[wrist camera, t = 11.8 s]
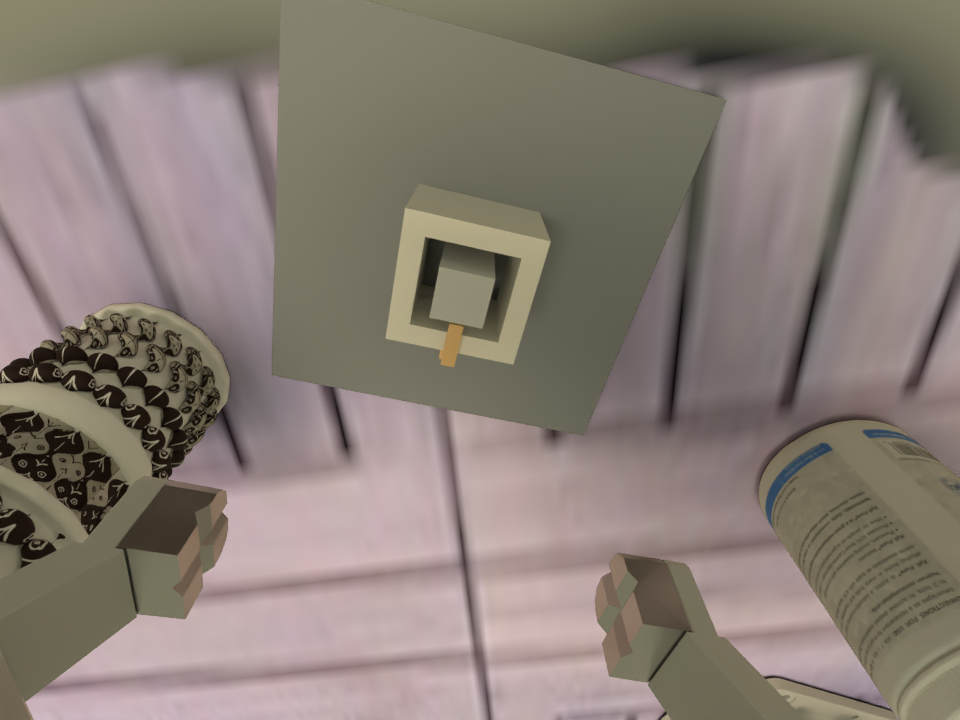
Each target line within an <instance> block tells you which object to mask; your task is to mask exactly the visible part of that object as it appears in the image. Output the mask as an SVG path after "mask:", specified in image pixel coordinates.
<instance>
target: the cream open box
mask: <svg viewBox="0 0 960 720" xmlns="http://www.w3.org/2000/svg"><path fill="white" fill-rule="evenodd" d="M430 238H433V239H437V240H442V241H446V242H451V243H455V244H459V245H464V246H468V247H473V248H477V249H482V250H486V251H490V252H495V253H499V254H504V255H508V258H507V262H506V266H505V269H504V273H503V277H502V281H501V285H500V288H499V292H498V296H497V300H492V299H490V302H489V306H488V310H487V313H486V317H485V321H484V325H483V329H480V328H476V327H471V326H466V325H462V324H457V323H452V322H448V321H443V320H438V319H433V318H429V316H430V311H431V306H432V301H433V296H434V291H435V287H432V286H427V285H423V284H422V280H423V274H424V269H425V263H426V258H427V252H428V247H429V241H430ZM550 243H551V241H550V238H549V235H548V233H547V230H546V227H545V225H544V222H543V219H542V217H541V214H540V212H537V211H532V210H528V209H524V208H520V207H516V206H511V205H507V204H503V203H499V202H494V201H490V200H486V199H482V198H478V197H473V196H469V195H465V194H461V193H456V192H452V191H448V190H444V189H440V188H435V187H431V186H427V185H423V184H419V185H418V187H417V188H416V190H415V192H414V193H413V195H412V197H411V199H410V200H409V202H408V204H407V205H406V207H405V212H404V218H403V225H402V232H401V238H400V245H399V252H398V258H397V265H396V272H395V278H394V285H393V292H392V298H391V305H390V312H389V318H388V325H387V332H386V338H385V339H389V340H394V341H399V342H404V343H409V344H414V345H419V346H424V347H429V348H434V349H439V350H443V354H442V359H441V364H440V365H444V366H449V367H454V366H455V362H456V357H457V353H458V354H463V355H468V356H473V357H478V358H483V359H488V360H493V361H498V362H503V363H508V364H512V365H513V364H514V360H515V357H516V354H517V351H518V347H519V344H520V341H521V338H522V334H523V331H524V328H525V324H526V321H527V318H528V315H529V311H530V308H531V305H532V302H533V298H534V295H535V292H536V288H537V285H538V282H539V279H540V275H541V272H542V269H543V266H544V262H545V259H546V256H547V252H548V249H549V246H550Z"/></svg>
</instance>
